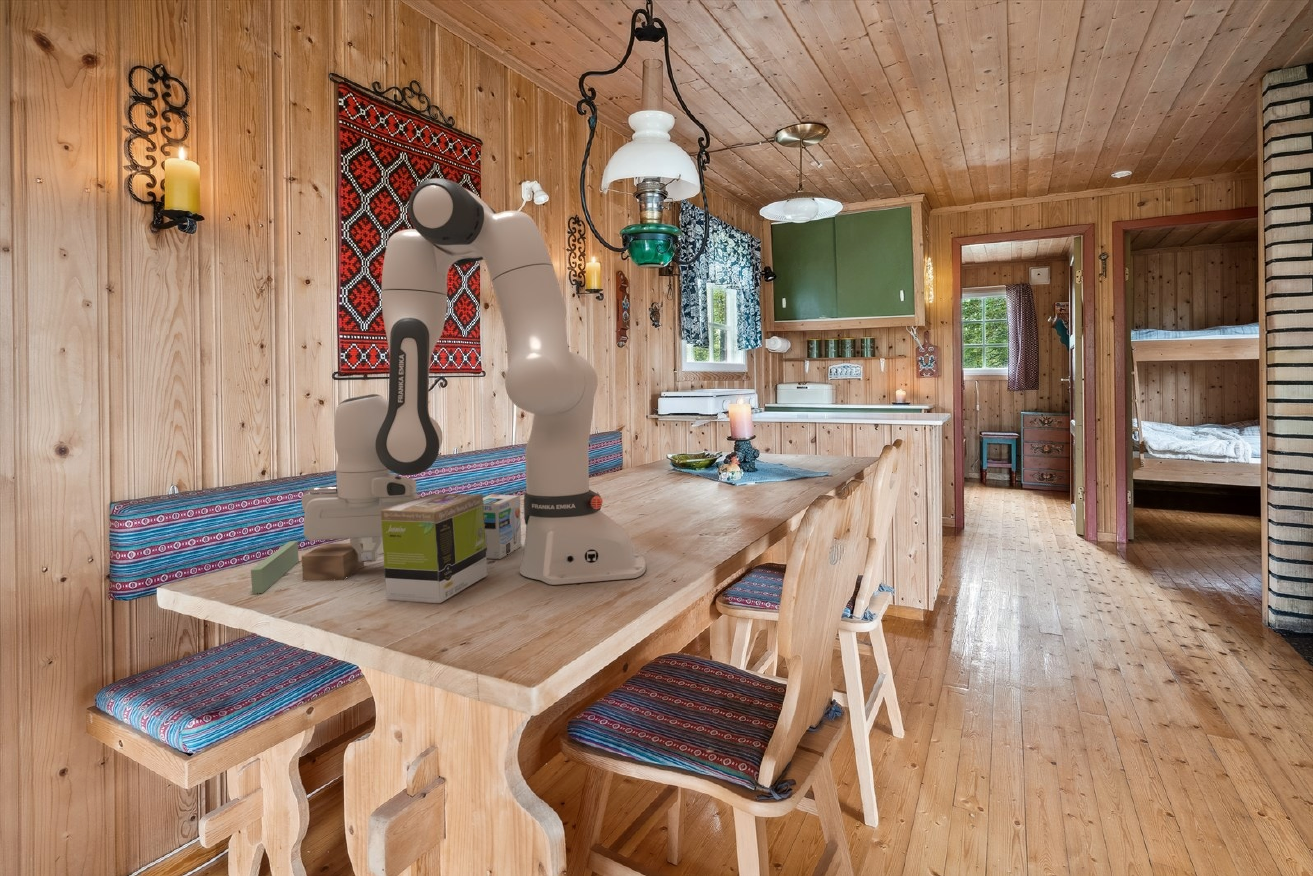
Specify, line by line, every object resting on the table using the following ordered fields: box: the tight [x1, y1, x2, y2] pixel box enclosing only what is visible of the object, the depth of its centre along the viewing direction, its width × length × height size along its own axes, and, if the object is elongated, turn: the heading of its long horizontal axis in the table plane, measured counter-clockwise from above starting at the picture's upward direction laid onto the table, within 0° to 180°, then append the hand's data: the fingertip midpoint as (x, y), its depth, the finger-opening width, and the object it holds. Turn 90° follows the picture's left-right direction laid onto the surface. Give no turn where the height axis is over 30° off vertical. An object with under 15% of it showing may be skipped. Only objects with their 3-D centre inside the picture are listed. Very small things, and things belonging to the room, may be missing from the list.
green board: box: [250, 540, 300, 595], centre depth 121 cm, size 2×20×4 cm, turn 12°
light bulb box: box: [483, 494, 522, 560], centre depth 136 cm, size 11×7×11 cm, turn 168°
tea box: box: [381, 493, 488, 604], centre depth 112 cm, size 15×10×15 cm, turn 165°
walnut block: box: [301, 542, 365, 581], centre depth 123 cm, size 7×9×4 cm
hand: (367, 561), depth 124 cm, fingers closed
